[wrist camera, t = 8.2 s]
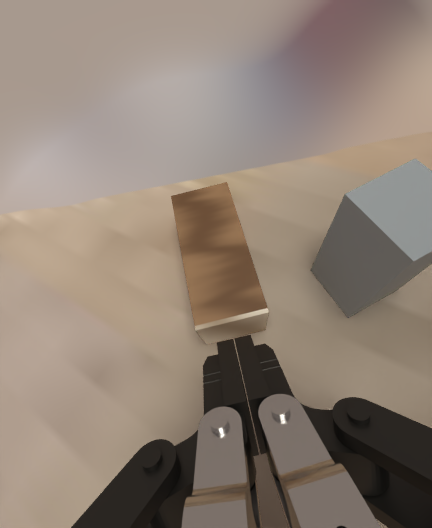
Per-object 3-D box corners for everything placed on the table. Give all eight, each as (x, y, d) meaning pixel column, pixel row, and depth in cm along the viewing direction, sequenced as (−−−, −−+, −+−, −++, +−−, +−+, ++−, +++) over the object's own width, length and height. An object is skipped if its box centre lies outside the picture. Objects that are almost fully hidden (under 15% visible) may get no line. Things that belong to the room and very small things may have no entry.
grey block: (356, 245, 25) (415, 158, 16) (397, 289, 23) (492, 217, 14) (310, 270, 24) (344, 194, 15) (348, 318, 22) (413, 261, 13)
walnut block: (265, 330, 22) (230, 217, 28) (268, 312, 18) (226, 182, 23) (206, 344, 22) (183, 228, 28) (195, 330, 18) (171, 196, 23)
